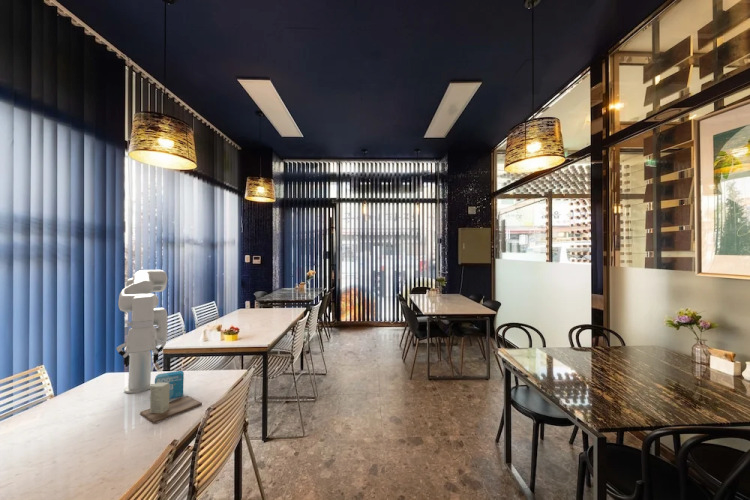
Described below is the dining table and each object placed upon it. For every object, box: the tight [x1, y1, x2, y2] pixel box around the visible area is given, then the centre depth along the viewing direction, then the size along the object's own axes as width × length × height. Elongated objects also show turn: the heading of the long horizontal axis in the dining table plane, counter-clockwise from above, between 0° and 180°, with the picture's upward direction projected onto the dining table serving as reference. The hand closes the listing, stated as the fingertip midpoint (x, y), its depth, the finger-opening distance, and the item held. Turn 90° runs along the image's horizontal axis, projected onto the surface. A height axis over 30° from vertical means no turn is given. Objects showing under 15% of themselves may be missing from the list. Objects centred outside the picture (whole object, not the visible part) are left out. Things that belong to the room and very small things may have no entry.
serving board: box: [139, 395, 203, 425], centre depth 141 cm, size 14×20×1 cm
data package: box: [154, 370, 185, 400], centre depth 153 cm, size 12×4×12 cm, turn 122°
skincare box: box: [149, 382, 170, 414], centre depth 137 cm, size 6×4×12 cm
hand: (141, 364), depth 131 cm, fingers open, 9 cm apart
